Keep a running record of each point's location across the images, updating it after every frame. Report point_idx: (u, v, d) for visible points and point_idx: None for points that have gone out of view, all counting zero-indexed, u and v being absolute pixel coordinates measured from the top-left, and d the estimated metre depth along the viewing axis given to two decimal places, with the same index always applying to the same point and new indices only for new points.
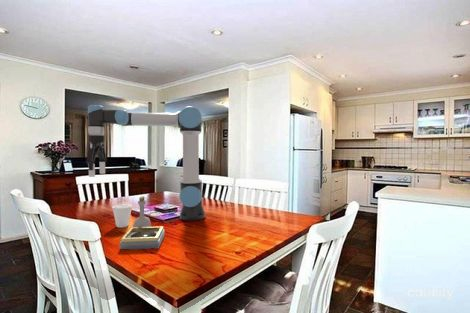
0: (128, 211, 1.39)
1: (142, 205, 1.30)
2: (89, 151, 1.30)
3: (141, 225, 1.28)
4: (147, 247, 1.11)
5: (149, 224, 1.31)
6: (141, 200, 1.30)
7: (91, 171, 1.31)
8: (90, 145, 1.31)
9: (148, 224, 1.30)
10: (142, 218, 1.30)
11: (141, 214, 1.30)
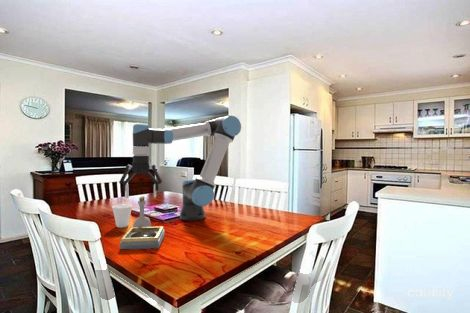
0: (128, 211, 1.39)
1: (142, 205, 1.30)
2: None
3: (141, 225, 1.28)
4: (147, 247, 1.11)
5: (149, 224, 1.31)
6: (141, 200, 1.30)
7: None
8: None
9: (148, 224, 1.30)
10: (142, 218, 1.30)
11: (141, 214, 1.30)
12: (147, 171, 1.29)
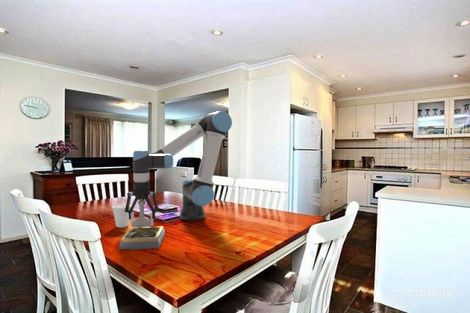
0: None
1: (142, 205, 1.30)
2: None
3: (141, 225, 1.28)
4: (147, 247, 1.11)
5: (149, 224, 1.31)
6: (141, 200, 1.30)
7: None
8: None
9: (148, 224, 1.30)
10: (142, 218, 1.30)
11: (141, 214, 1.30)
12: (147, 198, 1.30)
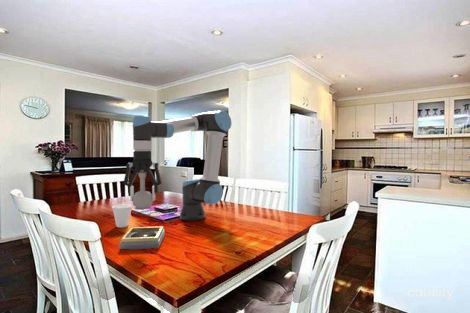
0: (128, 211, 1.39)
1: (143, 177, 1.16)
2: None
3: (141, 199, 1.13)
4: (147, 247, 1.11)
5: (151, 199, 1.17)
6: (142, 172, 1.16)
7: None
8: None
9: (149, 198, 1.16)
10: (143, 192, 1.16)
11: (142, 187, 1.16)
12: (148, 169, 1.16)
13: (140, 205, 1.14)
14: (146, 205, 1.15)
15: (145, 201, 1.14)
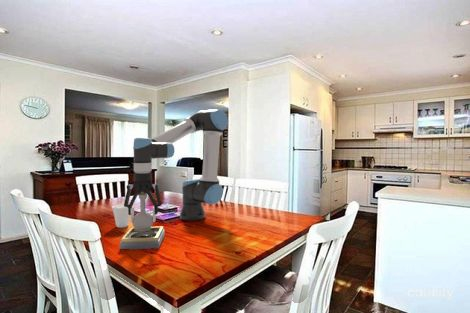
0: None
1: (143, 199, 1.16)
2: None
3: (142, 221, 1.14)
4: (147, 247, 1.11)
5: (151, 220, 1.17)
6: (142, 193, 1.16)
7: None
8: None
9: (149, 220, 1.16)
10: (143, 214, 1.16)
11: (142, 209, 1.17)
12: (149, 191, 1.16)
13: (140, 227, 1.14)
14: (146, 227, 1.15)
15: (145, 223, 1.14)
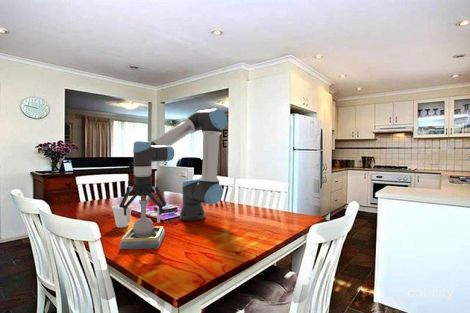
0: None
1: (144, 205, 1.17)
2: None
3: (142, 227, 1.14)
4: (147, 247, 1.11)
5: (151, 226, 1.17)
6: (143, 199, 1.17)
7: None
8: None
9: (150, 225, 1.16)
10: (144, 220, 1.16)
11: (142, 215, 1.17)
12: (150, 193, 1.17)
13: (141, 233, 1.14)
14: (147, 233, 1.15)
15: (146, 229, 1.15)
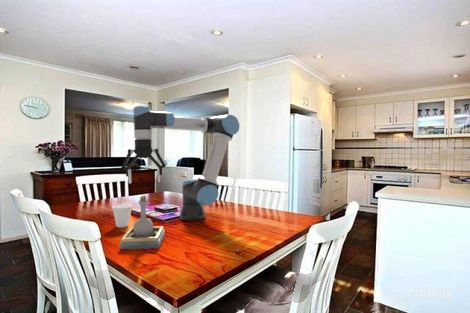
0: (128, 211, 1.39)
1: (143, 205, 1.17)
2: None
3: (142, 227, 1.14)
4: (147, 247, 1.11)
5: (151, 226, 1.17)
6: (142, 199, 1.16)
7: None
8: None
9: (150, 226, 1.16)
10: (144, 220, 1.16)
11: (142, 215, 1.17)
12: (150, 155, 1.25)
13: (141, 233, 1.14)
14: (147, 233, 1.15)
15: (146, 229, 1.15)
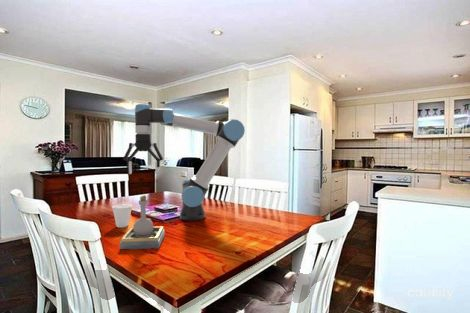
0: (128, 211, 1.39)
1: (143, 205, 1.17)
2: None
3: (142, 227, 1.14)
4: (147, 247, 1.11)
5: (151, 226, 1.17)
6: (142, 199, 1.16)
7: None
8: None
9: (150, 226, 1.16)
10: (144, 220, 1.16)
11: (142, 215, 1.17)
12: (149, 148, 1.38)
13: (141, 233, 1.14)
14: (147, 233, 1.15)
15: (146, 229, 1.15)
